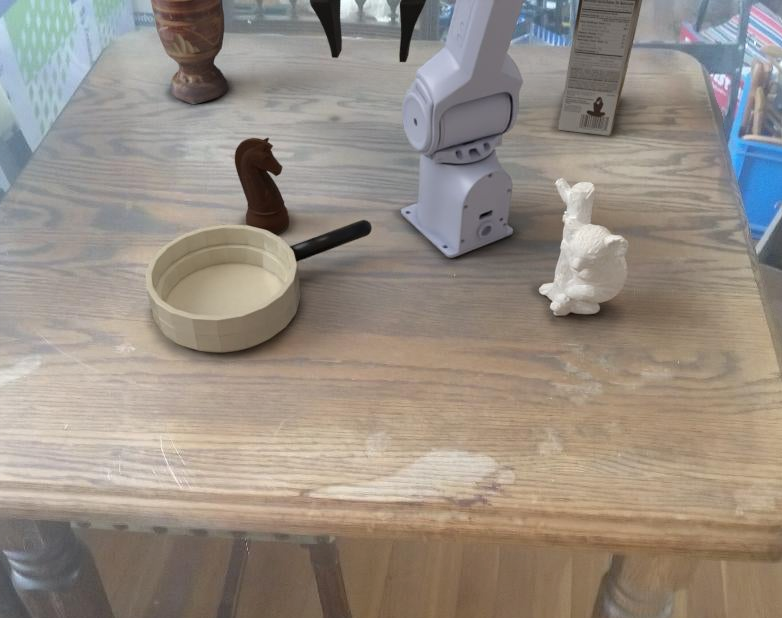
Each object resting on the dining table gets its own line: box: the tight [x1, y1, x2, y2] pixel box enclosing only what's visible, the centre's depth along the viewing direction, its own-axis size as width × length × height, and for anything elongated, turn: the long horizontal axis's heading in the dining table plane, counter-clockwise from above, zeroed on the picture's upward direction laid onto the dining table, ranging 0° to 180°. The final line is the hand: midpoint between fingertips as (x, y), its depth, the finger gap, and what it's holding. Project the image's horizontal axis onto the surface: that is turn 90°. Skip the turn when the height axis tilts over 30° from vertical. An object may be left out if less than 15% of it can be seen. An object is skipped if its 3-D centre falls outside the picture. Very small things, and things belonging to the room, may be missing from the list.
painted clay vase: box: [150, 0, 229, 105], centre depth 106 cm, size 12×9×20 cm
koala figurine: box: [538, 177, 630, 317], centre depth 77 cm, size 8×7×12 cm
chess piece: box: [234, 137, 290, 236], centre depth 88 cm, size 5×5×10 cm
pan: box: [144, 223, 301, 354], centre depth 82 cm, size 14×14×4 cm
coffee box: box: [557, 0, 643, 137], centre depth 98 cm, size 9×6×16 cm
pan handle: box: [289, 219, 373, 263], centre depth 84 cm, size 10×2×2 cm, turn 118°
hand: (370, 56), depth 97 cm, fingers open, 7 cm apart
